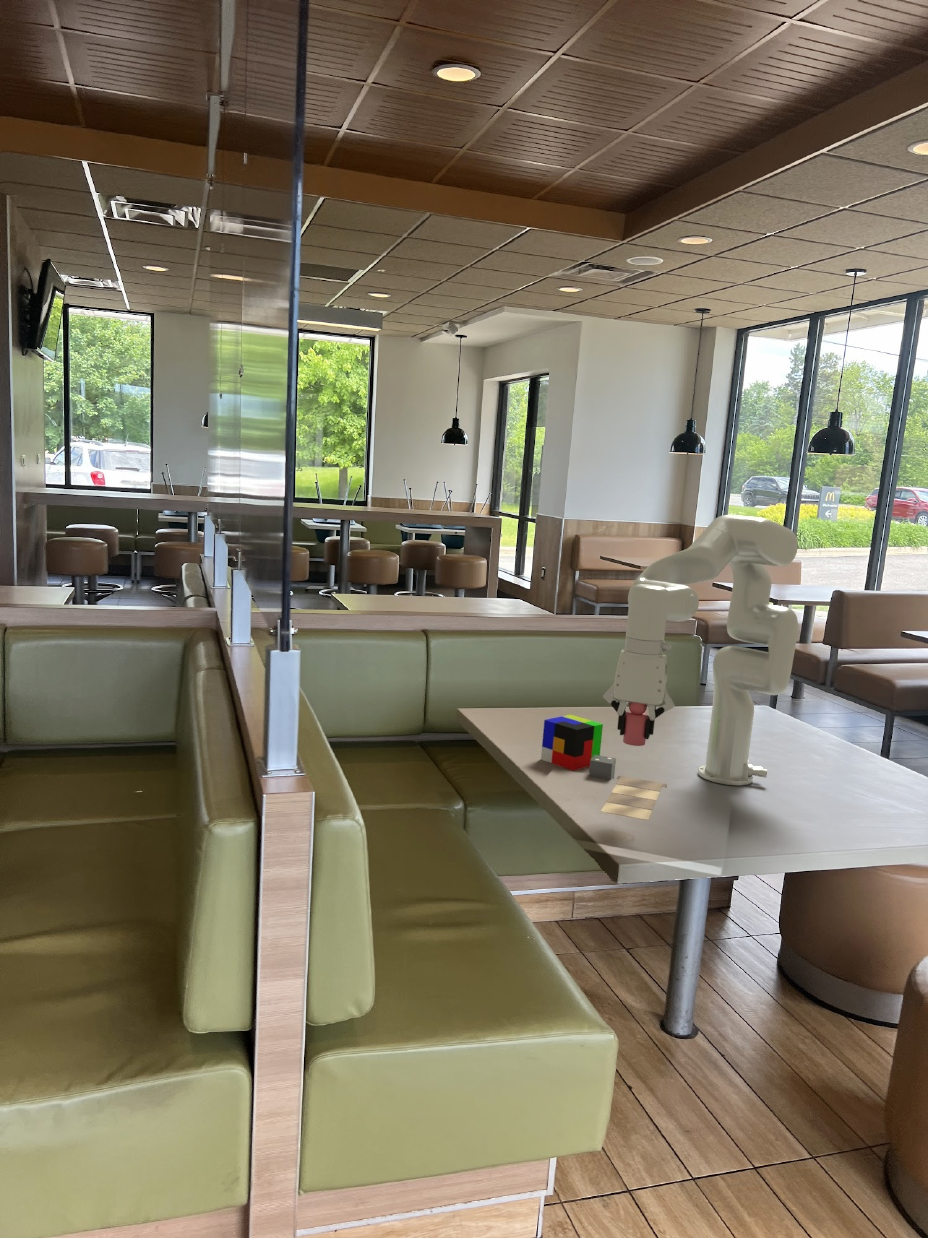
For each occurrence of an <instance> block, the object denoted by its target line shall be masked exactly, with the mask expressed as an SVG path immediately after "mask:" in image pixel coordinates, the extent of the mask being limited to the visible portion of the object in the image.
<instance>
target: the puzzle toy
mask: <svg viewBox="0 0 928 1238" xmlns="http://www.w3.org/2000/svg"><path fill="white" fill-rule="evenodd" d="M543 722H544V723H543V732H542V745H541V756H540V760H541V761H544V762H547V763H549V762H550V764H552V763H553V764H552V765H555V764H556V765H555V766H559V767H561V766H562V768H564V767H565V768H564V769H567V770H570V771H572V772H573V771H577V769H578V770H582V769H585V768H590V760H591V759H592V758H593V756H594V755H599V756H601V747H602V746H601V745H602V736H603V727H604V724H603V723H601V722H597V721H594V720H590V719H587V718H583V717H580V716H576V715H574V714H568V715H567V714H566V715H562V716H557V717H553V718H548V719H547V718H546V719H544V721H543ZM584 767H585V768H584Z"/></svg>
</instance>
